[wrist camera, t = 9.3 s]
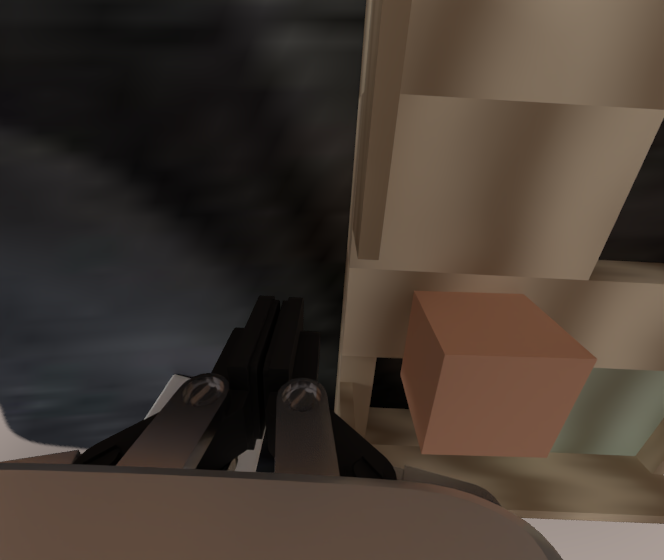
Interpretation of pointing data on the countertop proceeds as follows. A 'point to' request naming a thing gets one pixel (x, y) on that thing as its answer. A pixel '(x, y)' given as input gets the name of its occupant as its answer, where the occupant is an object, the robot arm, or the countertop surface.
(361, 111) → the wooden cubby shelf
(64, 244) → the countertop surface
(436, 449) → the block
